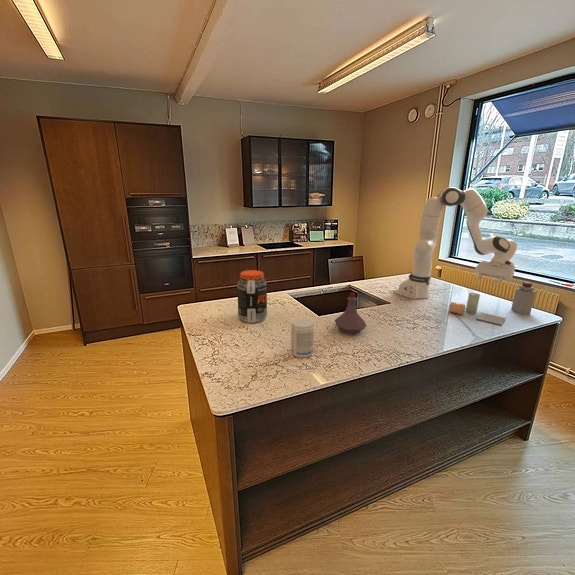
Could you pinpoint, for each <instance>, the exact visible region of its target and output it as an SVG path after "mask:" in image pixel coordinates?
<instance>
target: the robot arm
mask: <svg viewBox="0 0 575 575" xmlns="http://www.w3.org/2000/svg"><path fill="white" fill-rule="evenodd" d="M457 205H460V206H461V208H462V209H463V211H464V213H465V215H466V221H465V222H466V227H467V229H468V230H467V231H468V232H469V235H470V237H471V240H472V243H473V249H474V250H475V253H477V255H480V256H485V255H488V254H489V255H490V254H494V255H493V257H492V259H491V260H490V261H485V260H483V261H480V262H479V263H478V264H477V265H476V266H475V267H474V273H475V274H476V275H478V277H477V280H478V281H482V280H483V276H485V277H490V278H495V279H497V280H495V281H494V282H493V283H494V285H498V284H499V283H501V282H502V281H511V280H512V279H513V276H514V274H515V272H516V267H515V264H514V262H512V261H511V260H512V258H513V257H514V255H515V254H516V252H517V249H518V245H517V242H516V241H515V240H513V239H509V238H508V239H507V238H505V237H504V236H502V235H500V234H499V235H498V234H497V235H494V236H490V237H484V236H483V234H482V232H481V229H480V223H481V222H482V221H483V220H484V219H485V217H487V215H488V210H489V209H488V206H487V204H486V202H485V201H484V199H483V198H482V196H481V195H480V193H479V192H478V191H477V190H476V189H475V188H467V189H465V190H461V189H459V188H458V187H455V186H447V187H444V189H442V190H441V191H440V192H439V194H437V196H436V197H435V196H432V197H429V198H428V199H427V200H426V201H425V203H424V206H423V210H422V214H421V219H420V224H419V233H418V239H417V242H416V243H415V245H414V250H413V252H414V253H413V267H412V272H411V273H410V274H409V275H408V279H406V280H404V281H402V282H401V283H400V284H399V285H398V288H396V289H395V290H394V293H395V294H397V295H400V296H403V297H407V298H410V299H413V300H415V299H416V300H417V299H423V300H424V299H428V298H430V295H431V294H430V285H431V281H432V279H431V273H432V266H433V255H434V250H435V249H436V246H437V240H438V235H439V227H440V225H441V224H440V223H441V218H442V214H443V213H442V212H443V210H444V208H445V207H446V206H447V207H455V206H457Z"/></svg>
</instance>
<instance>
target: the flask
mask: <svg viewBox="0 0 575 575" xmlns="http://www.w3.org/2000/svg"><path fill="white" fill-rule="evenodd" d="M346 299H347V301H348V302H347V306H346V308H345V311H344V312H343V313H341V315H339V316H338V317H337V318H335V320H334V323H335V326H336V327H337V328H338V330H339V331H340V332H341V333H343V334H345V335H354V336H355V335H357V334H359V333H361V332H362V331H363V330H364V329H365V328H366V327H367V326H368V325H367V323H366V322H365V320H364V319H363V318H362V316H360V314H359V313H358V310H357V306H356V305H357V301H358V298H357V297H356V293H355V292H350V293H349V297H347V298H346Z"/></svg>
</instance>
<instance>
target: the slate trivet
mask: <svg viewBox="0 0 575 575" xmlns="http://www.w3.org/2000/svg"><path fill="white" fill-rule="evenodd" d="M475 320H476V321H481V322H484V323H488V324H493V325H496V326H499V327H501V326H503V324H504V322H505V320H506V317H503V316H500V315H495V314H491V313H490V314H489V313H486V312H480V313H479V314H478V315H477V317H476V319H475Z"/></svg>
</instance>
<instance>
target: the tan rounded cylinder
mask: <svg viewBox="0 0 575 575" xmlns="http://www.w3.org/2000/svg"><path fill="white" fill-rule="evenodd" d="M448 307H449V308H448V312H450V313H453V314H458V315H462V316H463V315H464V314H465V312H466V304H464V303H459V302H454V301H451V302H450V304H449V306H448Z"/></svg>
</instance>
